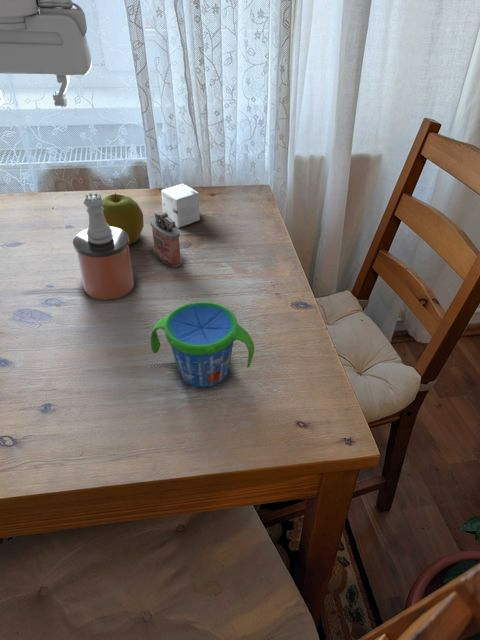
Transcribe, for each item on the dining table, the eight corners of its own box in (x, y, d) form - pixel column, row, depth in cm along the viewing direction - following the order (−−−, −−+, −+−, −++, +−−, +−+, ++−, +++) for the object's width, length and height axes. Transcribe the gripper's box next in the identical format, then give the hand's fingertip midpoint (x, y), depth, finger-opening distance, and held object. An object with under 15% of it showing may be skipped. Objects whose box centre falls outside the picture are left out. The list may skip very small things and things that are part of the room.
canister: (79, 303, 94) (67, 253, 87) (88, 274, 101) (78, 225, 94) (132, 303, 95) (124, 253, 88) (138, 274, 102) (131, 226, 95)
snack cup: (142, 384, 80) (134, 333, 73) (171, 341, 87) (166, 291, 80) (239, 409, 77) (240, 358, 70) (260, 362, 84) (263, 313, 78)
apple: (89, 239, 111) (80, 190, 103) (130, 225, 116) (123, 178, 108) (113, 259, 105) (105, 209, 98) (155, 244, 110) (149, 195, 103)
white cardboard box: (163, 220, 118) (160, 189, 113) (185, 212, 121) (183, 182, 116) (178, 231, 115) (176, 199, 110) (200, 223, 118) (199, 192, 113)
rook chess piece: (119, 236, 92) (112, 193, 86) (103, 248, 89) (95, 204, 83) (98, 230, 93) (90, 187, 88) (81, 241, 90) (72, 198, 85)
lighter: (150, 253, 107) (144, 208, 101) (164, 248, 109) (160, 204, 102) (171, 271, 103) (167, 225, 96) (185, 266, 105) (183, 220, 98)
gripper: (86, -5, 73) (102, 100, 83) (-66, -11, 72) (-32, 96, 81) (77, 3, 69) (95, 113, 78) (-86, -3, 67) (-48, 110, 76)
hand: (29, 105), depth 79 cm, fingers open, 8 cm apart
